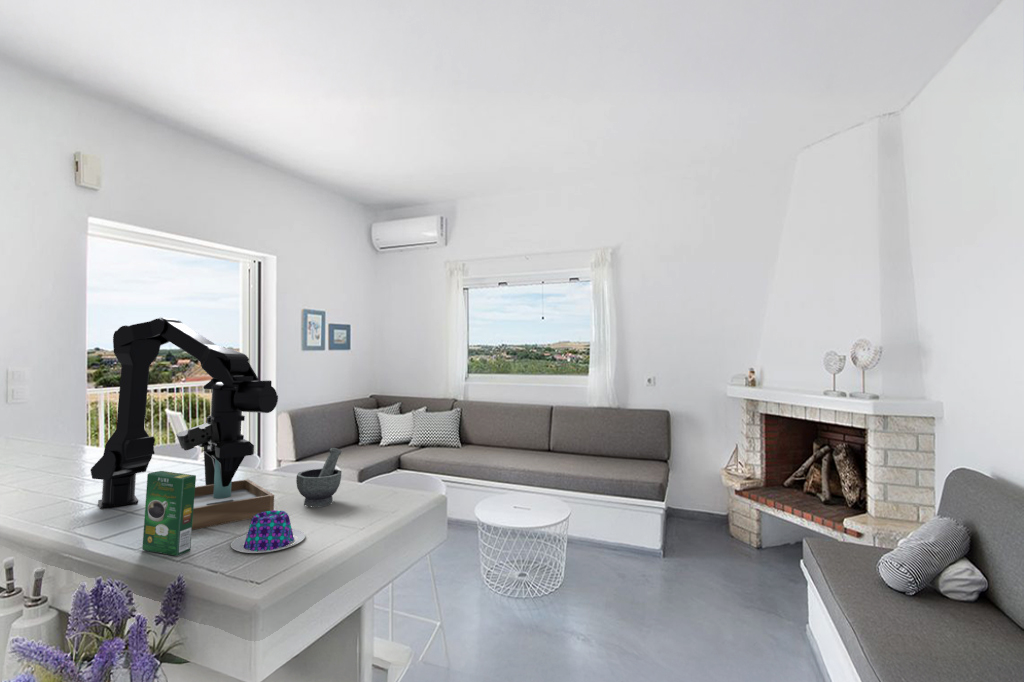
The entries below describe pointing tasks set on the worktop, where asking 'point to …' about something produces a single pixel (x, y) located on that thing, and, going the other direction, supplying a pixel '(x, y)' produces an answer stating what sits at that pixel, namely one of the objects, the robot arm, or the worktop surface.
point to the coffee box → (169, 512)
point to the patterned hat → (268, 533)
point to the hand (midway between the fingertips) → (223, 484)
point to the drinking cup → (208, 468)
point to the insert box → (230, 504)
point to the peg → (220, 485)
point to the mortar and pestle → (320, 482)
